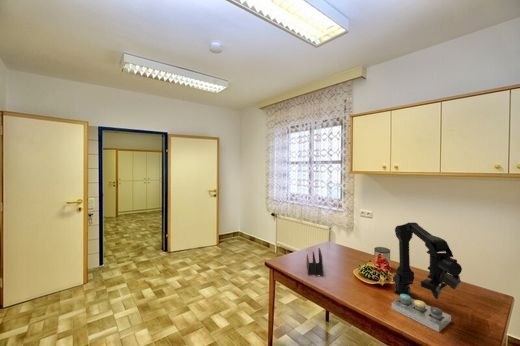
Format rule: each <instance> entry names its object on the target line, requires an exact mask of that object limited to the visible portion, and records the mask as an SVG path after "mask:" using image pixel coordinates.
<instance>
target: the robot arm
mask: <svg viewBox="0 0 520 346" xmlns="http://www.w3.org/2000/svg"><path fill="white" fill-rule="evenodd" d="M394 233H395V237H396V239H397V240H398V249H399V251H398V252H399V258H398V259H399V265H398V267H397V269H396V274H395V275H394V276H392V281H393V282H394V284H395V291H393V293H395V294H398V295H399V296H400V294H406V295H409V296H410V295H412V293H411V287H410V286H411V285H413V283H414V280H415V272H414V271H413V270H412V269H411V267H410V266H411V265H410V264H411V262H410V242H411V239H412V238H413V234H414V235H415V236H416V237H418V238H419V239H420V240H421V241H422V242H424V246H425V247H426V248H427V251H426V253H427V254H428V255H429V266H427V270H429V273H428V274H429V275H427V278H425V279H423V280H421V281H420V287H421V288H423V289H426V290H429V291H431V293H432V296H433V297H434V299H435V300H438V299H439V297H440V295H441V293H442V290H443V288H446V287H447V286H448V287H450V289H452V290H456V289H457V288H458V287H459V286H460V284H461V283H462V282H461V278H460V277H461V276H460V275H461V273H462V270H463V268H462V265H461V264H459V263H458V260H457V259H455V258H454V255H453V251H452V249H451V248H450V246H449V243H448V242H447V241H446V240H445V239H444V238H441V237H439V236H436V235H433V234H432V233H430V232H428V231H427V230H426V229H424V228H423V227H422V226H420V225H419V224H418V223H417V222H407V223H404V224H401V225H396V226H395V228H394Z"/></svg>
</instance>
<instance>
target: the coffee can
mask: <svg viewBox="0 0 520 346" xmlns="http://www.w3.org/2000/svg"><path fill="white" fill-rule="evenodd" d="M378 254H383V255H384V256H385V258H386V259H387V260H388V262H389V264H390V265H391V249H389V248H387V247H383V246H376V247H374V259H375V258H376V257H377V255H378Z"/></svg>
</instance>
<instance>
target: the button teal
mask: <svg viewBox="0 0 520 346" xmlns="http://www.w3.org/2000/svg"><path fill="white" fill-rule="evenodd" d="M399 298H400V303H402V304H404V305H406V306H409V305H410V298H411V296H410V295H406V294H400V295H399Z"/></svg>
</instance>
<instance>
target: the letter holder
mask: <svg viewBox="0 0 520 346" xmlns="http://www.w3.org/2000/svg"><path fill="white" fill-rule="evenodd" d="M307 270H308V271H307ZM306 271H307V276H308V275H320V276H319V277H324V263H323V255H322V250H321V248H320V247H318V262H317V261H316V255H315V252H314V251H312V262H310V261H309V254H308V253H307V254H306Z"/></svg>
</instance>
